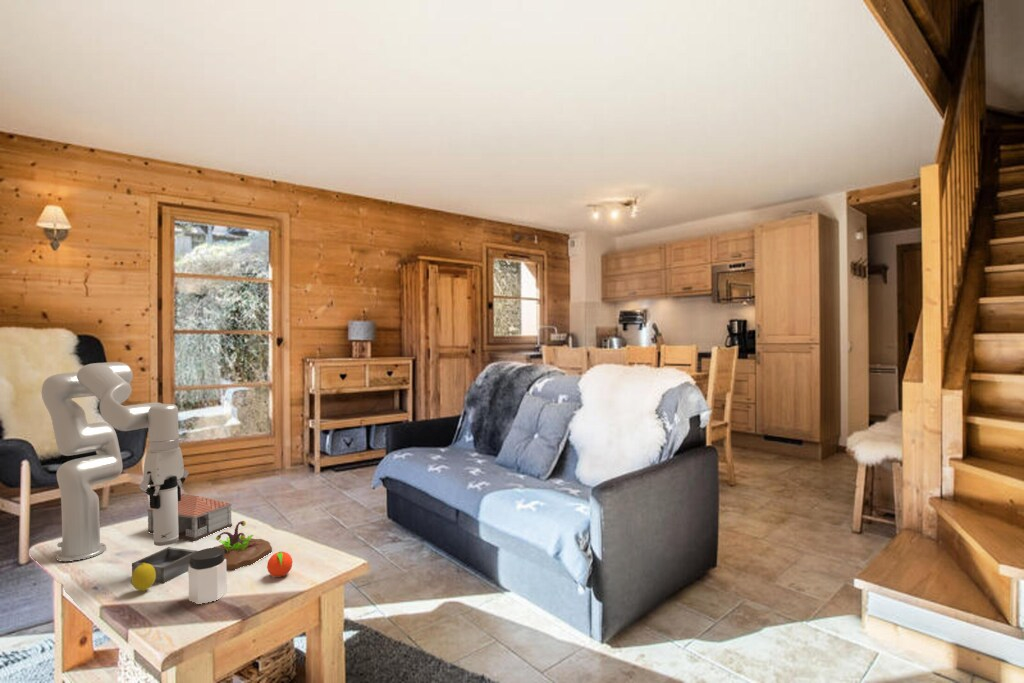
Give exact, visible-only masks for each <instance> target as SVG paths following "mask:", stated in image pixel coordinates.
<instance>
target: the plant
mask: <svg viewBox="0 0 1024 683" xmlns="http://www.w3.org/2000/svg"><path fill="white" fill-rule="evenodd" d="M246 524H247V522H246V521H244V520H240V521H238V522H237V524H236V525H235V527H234V528H235V529H234V534H232V533H230V532H228V531H224V532H221V533H220V534H218V535H217V536H216V537H215V540H217V541H219V543H221V544H219V545H216V546H213V547H212V548H222V549H224V559H226V570H230V571H236V570H235V569H237V570H238V569H240V567H241V568H244V567H248V566H247V565H249V566H252V565H254V564H256V563H257V562H256V561H258V560H259V559H261V558H263V557H264V556H266V555H268V554H269V553H271V552H272V553H273V547H272V546H271V543H270V542H269V541H268V540H265V539H263V538H253V537H254V534H251V535H249V536H247V537H246V534H244V533H243V532H239V527H240V526H239V525H241V527H243V526H244V527H245V526H246ZM222 535H227V537H226V540H224V539H221V538H222ZM263 559H264V558H263ZM261 560H262V559H261ZM255 562H256V563H255ZM258 562H259V561H258ZM253 563H254V564H253ZM251 564H252V565H251ZM243 566H244V567H243Z"/></svg>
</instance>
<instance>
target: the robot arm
mask: <svg viewBox="0 0 1024 683" xmlns="http://www.w3.org/2000/svg"><path fill="white" fill-rule="evenodd" d="M133 378H134V373H133V370H132V368H131V367H130V366H129V365H128V364H127V363H125V362H123V361H122V362H120V361H112V362H96V363H95V362H94V363H89V364H85V365H84V366H82V367H80V368H79V370H78V371H77V372H76V371H75V372H63V373H56V374H54V375H53V374H52V375H51V376H49V377H47V378H46V379H45V380H44V381H43V383H42V385H41V398H42V401H43V404H44V406H45V407H46V409H47V411H48V413H49V415H50V416H49V417H50V418H51V421H52V424H51V425H52V428H53V433H54V437H55V441H56V442H55V444H56V447H57V450H58V452H59V453H60V455H63V456H66V457H69V456H77V455H81V454H88V453H93V452H95V453H96V454H95V455H89V456H84V457H80V458H74V459H71V460H68V461H66V462H64V463H63V464H61V465H60V466H59V467H58V468H57V470H56V481H57V485H58V488H59V491H60V492H59V493H60V501H61V502H60V504H61V505H60V506H61V536H62V537H61V538H62V539H61V540H62V541H61V542H58V543H57V546H56V547H58V548H61V551H60V552H59V553H57V554H56V557H55V559H56V558H57V559H58V560H61V561H70V560H79V561H81V560H80V559H83V560H86V558H87V559H90V557H91V558H94V557H96V556H98V555H100V554H102V553H104V552H105V551H106V549H107V545H106V543H102V542H101V526H100V524H101V522H100V499H99V495H98V494H97V493H96V492H95V491H94V489H92V487H91V486H93V485H97V484H101V483H105V482H108V481H112V480H116V479H117V478H118V477H120V476H121V474H122V472H123V468H124V467H123V459H122V454H121V448H120V445H119V444H120V443H119V439H118V436H117V435H118V434H117V433H116V430H117V431H120V432H128V431H135V430H140V429H147V428H148V452H147V451H146V454H145V458H144V463H143V464H144V465H143V478H142V479H143V480H142V481H141V483H140V484H139V485H138V488H139V489H140V490H141V491H143V492H144V493H145V494H146V495H147V496H148V497H149V509H150V508H153V509H159V508H160V495H158V492H159V489H160V485H162V484H164V480H166V479H169V478H170V477H173V476H177V492H178V501H181V495H182V494H181V493H182V492H181V490H182V489H181V488H183V485H184V483H185V481H186V478H187V477H188V476H189V474H190V472H189V471H188V470H187V469H186V468H185V467H184V466H185V465H184V458H183V453H182V452H183V451H182V449H181V447H180V443H181V441H182V439H181V438H180V436H179V432H180V429H179V408H178V406H177V404H174V403H173V404H172V403H165V404H164V403H162V402H158V401H157V402H156V401H155V402H145V403H138V404H137V403H136V404H130V405H123V403H124V402H126V401H127V400H128V399H129V397H130V396H131V395H132V391H133V390H132V386H131V382H132V381H133ZM87 397H89V398H90V397H96V398H98V400H100V402H99V412H100V415H101V418H102V419H103V420H104V421H102V422H101V421H100V422H94V423H93V422H92V423H89V422H88V421H87V417H86V413H85V410H84V409H83V407H82V406H81V405H80V404H78V403H77V402H76V401H74V400H73V399H79V398H87ZM115 429H116V430H115ZM154 487H155V489H154ZM153 489H154V490H153ZM93 556H94V557H93Z"/></svg>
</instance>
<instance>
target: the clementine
mask: <svg viewBox="0 0 1024 683" xmlns="http://www.w3.org/2000/svg"><path fill="white" fill-rule="evenodd" d="M292 566H293V557H292V556H291V554H289V553H288V552H287V551H277V552H275V553H273V554H271V556H270V557H269V559H268V560H267V566H266V569H267V572H268V573H269V574H270V575H271V576H272V577H274V578H281V577H283V576H285V575H287V574H288V573H289V572H290V571H291V569H292Z"/></svg>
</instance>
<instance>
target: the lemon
mask: <svg viewBox="0 0 1024 683" xmlns="http://www.w3.org/2000/svg"><path fill="white" fill-rule="evenodd" d="M155 578H156V572H155V569H154V567H153V566H152V565H151V564H147V563H142V564H141V565H139V566H138V567H137V568H136V569H135V570H134V572H133V574H132V573H131V585H132V587H133V588H134V589H135V590H137V591H141V592H145V591H147V590H148V589H149V588H151V587H152V586H153V585H154V583H155V582H154V581H155Z"/></svg>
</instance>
